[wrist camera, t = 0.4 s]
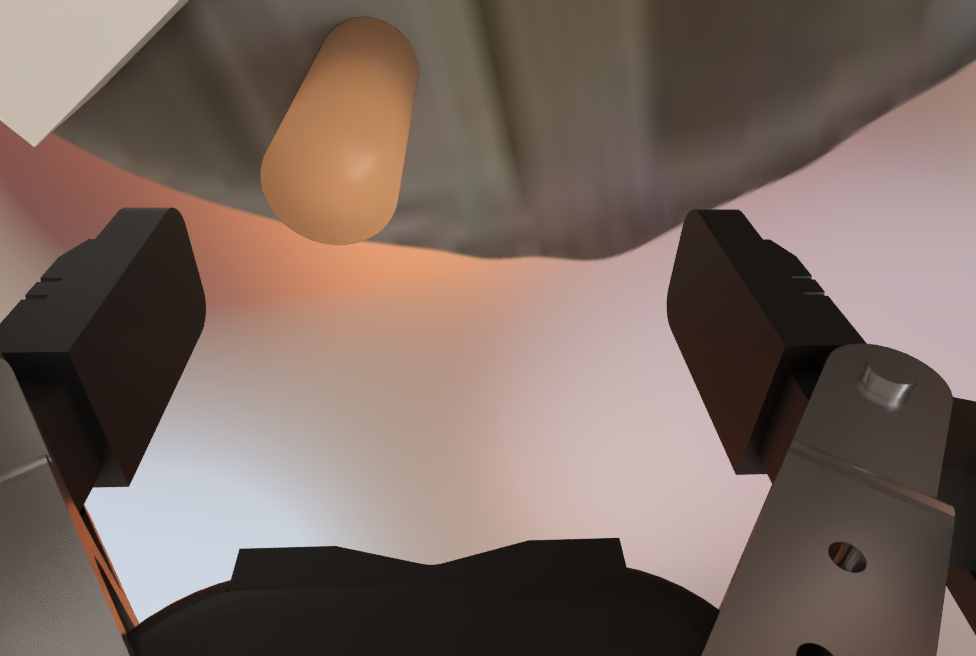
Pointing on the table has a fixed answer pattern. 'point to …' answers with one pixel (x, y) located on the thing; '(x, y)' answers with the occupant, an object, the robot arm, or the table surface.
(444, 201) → the table surface
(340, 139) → the plug
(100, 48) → the socket block
